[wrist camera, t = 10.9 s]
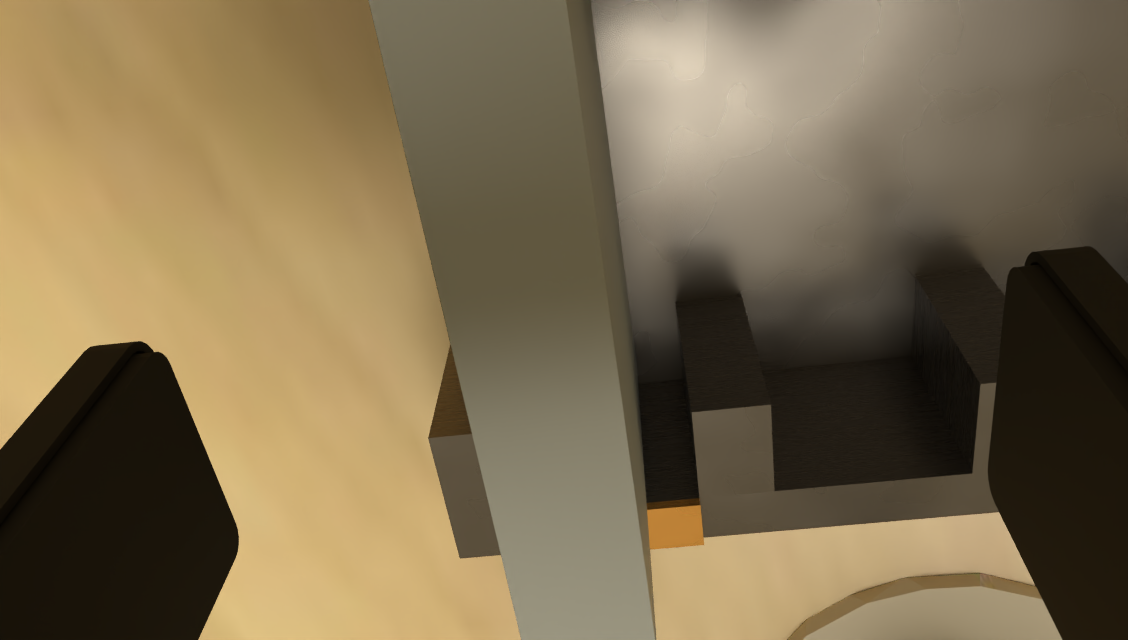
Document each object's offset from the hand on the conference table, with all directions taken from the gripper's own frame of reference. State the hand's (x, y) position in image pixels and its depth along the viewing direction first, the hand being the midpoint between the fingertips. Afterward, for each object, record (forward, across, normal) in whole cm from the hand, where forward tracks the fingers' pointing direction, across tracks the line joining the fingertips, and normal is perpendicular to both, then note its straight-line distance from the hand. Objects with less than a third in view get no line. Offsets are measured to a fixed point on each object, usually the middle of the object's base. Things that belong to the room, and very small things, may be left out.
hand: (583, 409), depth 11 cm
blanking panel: (+9, +1, 0) cm, 9 cm away
